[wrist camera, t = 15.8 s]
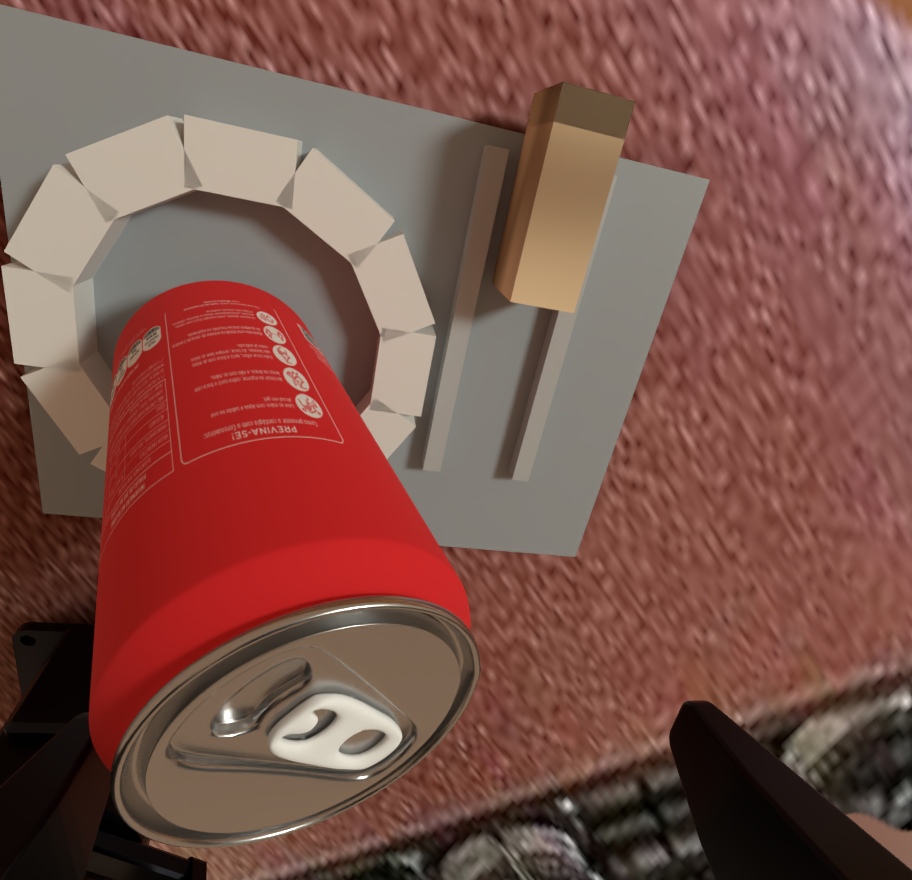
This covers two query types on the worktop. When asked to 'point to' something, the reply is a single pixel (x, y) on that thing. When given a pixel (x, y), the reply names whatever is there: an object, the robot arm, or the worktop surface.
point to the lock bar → (560, 194)
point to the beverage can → (259, 584)
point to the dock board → (320, 269)
